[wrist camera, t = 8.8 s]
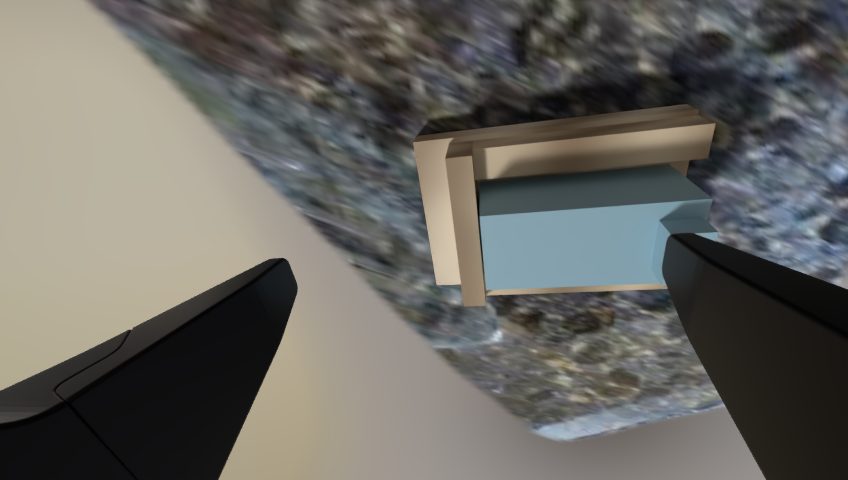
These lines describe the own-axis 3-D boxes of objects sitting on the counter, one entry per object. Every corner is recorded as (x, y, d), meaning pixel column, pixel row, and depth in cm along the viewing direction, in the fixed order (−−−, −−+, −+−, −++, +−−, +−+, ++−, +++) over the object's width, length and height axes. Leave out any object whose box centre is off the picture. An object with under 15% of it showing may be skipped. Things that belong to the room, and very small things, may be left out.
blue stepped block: (669, 164, 18) (729, 212, 14) (657, 236, 20) (706, 299, 16) (480, 182, 20) (479, 229, 16) (485, 247, 22) (486, 306, 17)
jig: (686, 104, 18) (729, 122, 15) (658, 263, 22) (686, 302, 19) (416, 135, 20) (405, 157, 17) (438, 274, 25) (432, 310, 22)
